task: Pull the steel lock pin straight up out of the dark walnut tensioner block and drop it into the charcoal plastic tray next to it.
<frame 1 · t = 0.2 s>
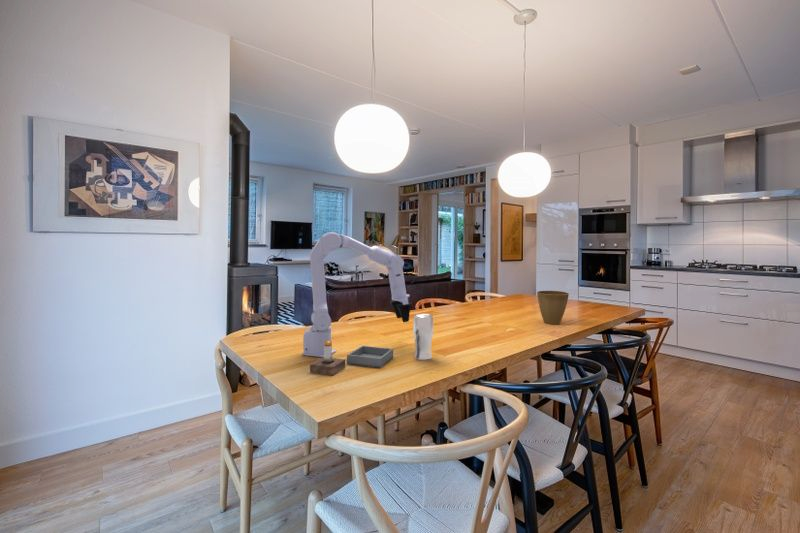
hand: (402, 319, 140), 11 cm above the table, tool pointing down, fingers open, 7 cm apart
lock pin: (327, 355, 113), in the tensioner block
tensioner block: (328, 369, 114), on the table
tray: (370, 360, 123), on the table
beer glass: (423, 358, 126), on the table
plant pot: (551, 323, 185), on the table
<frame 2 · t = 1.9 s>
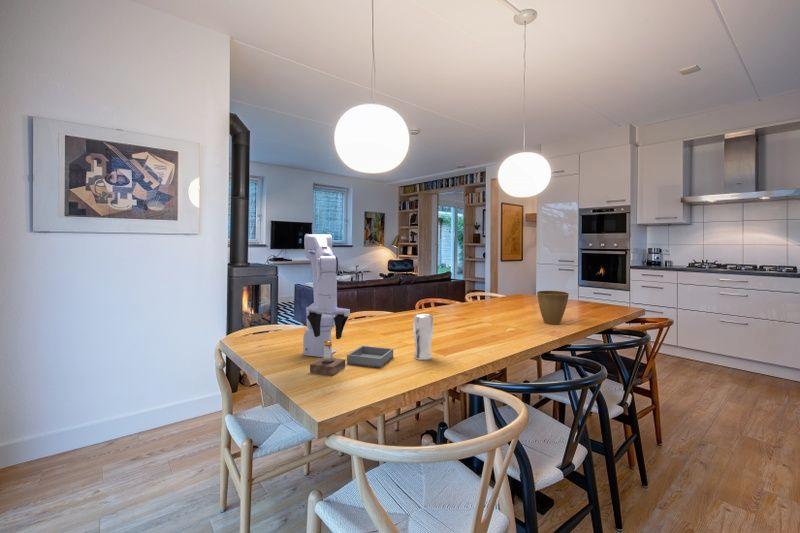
hand: (327, 337, 113), 10 cm above the table, tool pointing down, fingers open, 7 cm apart
nothing on the table moved.
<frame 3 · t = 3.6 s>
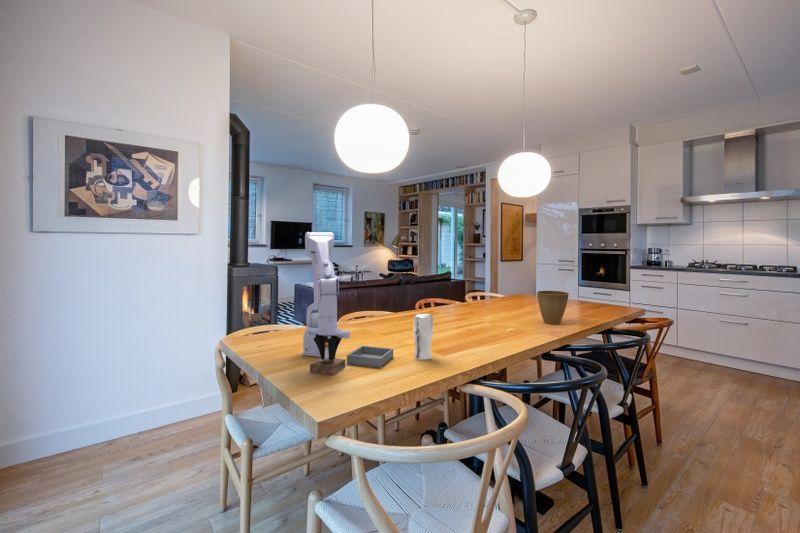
hand: (327, 359, 114), 3 cm above the table, tool pointing down, fingers closed on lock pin, 2 cm apart
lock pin: (327, 355, 113), in the tensioner block, touching gripper
everything else where it was.
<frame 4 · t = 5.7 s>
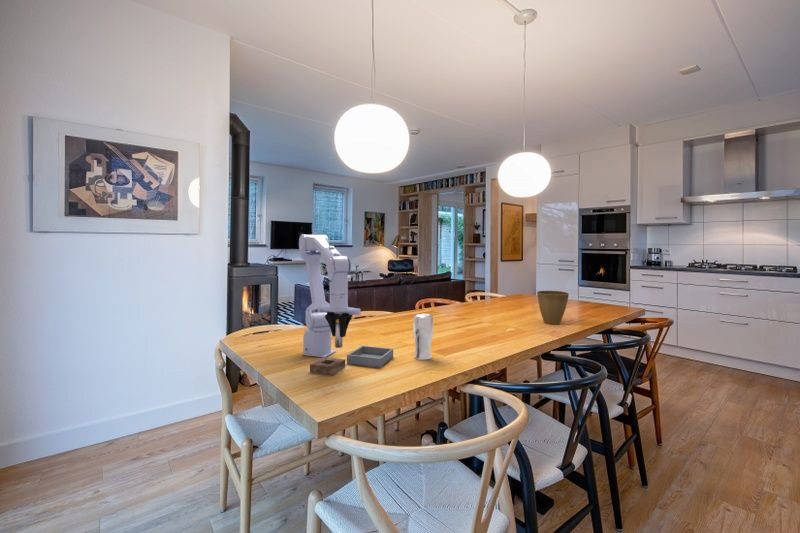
hand: (338, 336, 115), 10 cm above the table, tool pointing down, fingers closed on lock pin, 2 cm apart
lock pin: (338, 332, 115), point 11 cm above the table, touching gripper
everything else where it was.
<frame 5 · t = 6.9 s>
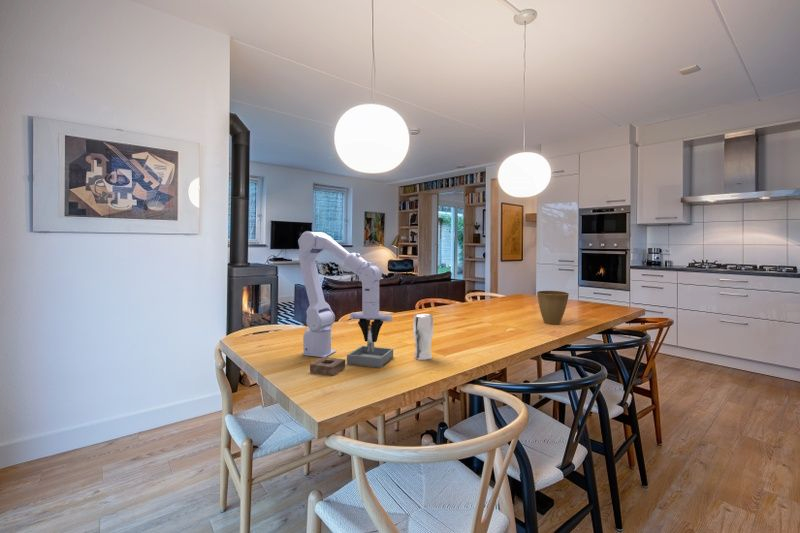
hand: (370, 341, 123), 7 cm above the table, tool pointing down, fingers closed on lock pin, 2 cm apart
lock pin: (370, 338, 122), point 8 cm above the table, touching gripper
everything else where it was.
when the fingers open (6 cm above the table, at t = 7.7 s): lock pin drops 2 cm, resting on tray.
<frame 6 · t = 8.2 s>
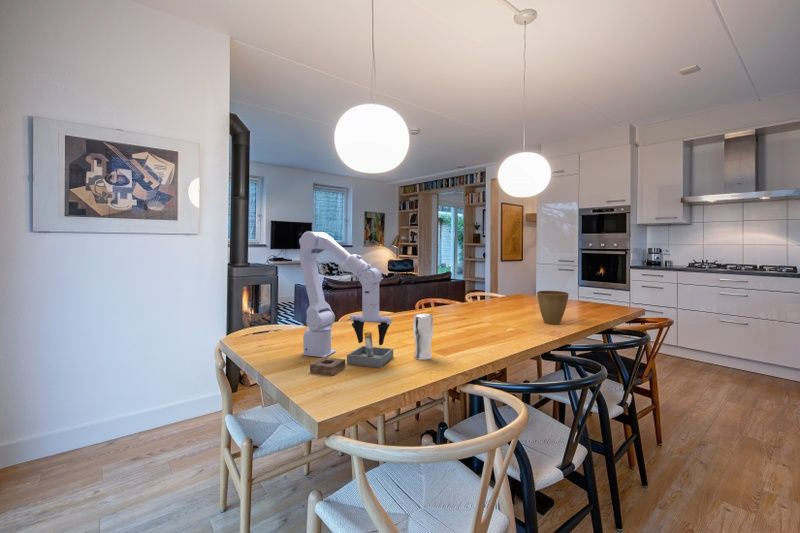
hand: (370, 343, 123), 6 cm above the table, tool pointing down, fingers open, 7 cm apart
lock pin: (369, 346, 122), in the tray, tilted 7°
everything else where it was.
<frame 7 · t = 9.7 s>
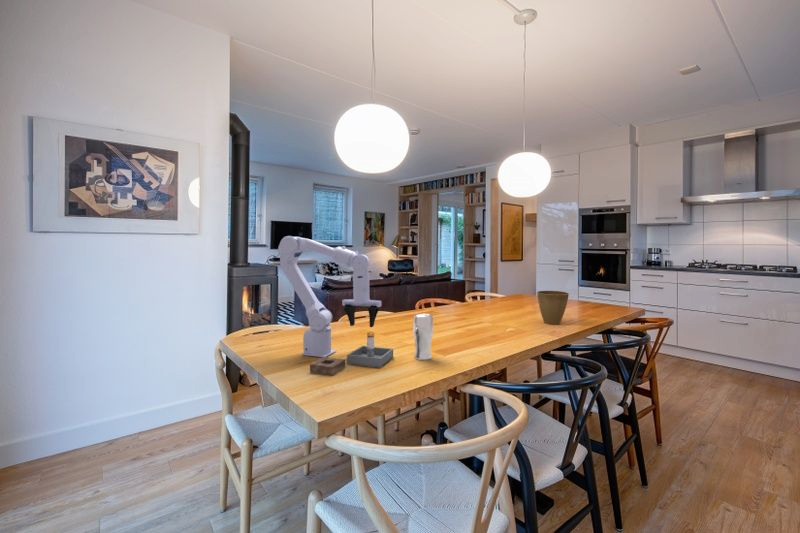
hand: (362, 326, 129), 10 cm above the table, tool pointing down, fingers open, 7 cm apart
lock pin: (370, 346, 123), in the tray
everything else where it was.
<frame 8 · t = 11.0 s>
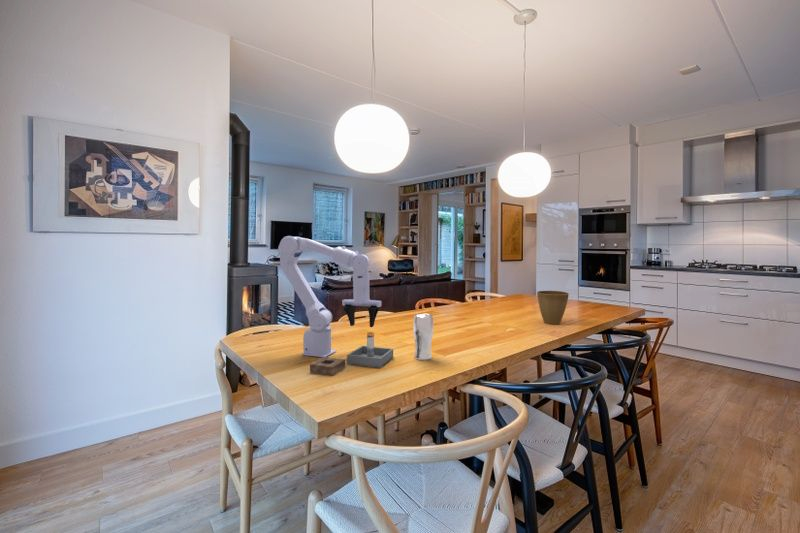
hand: (362, 326, 129), 10 cm above the table, tool pointing down, fingers open, 7 cm apart
nothing on the table moved.
at the end: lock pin inside the target area on the tray (0.2 cm from its centre), point 5.0 cm above the tray's base; the gripper is holding nothing; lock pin moved 15.6 cm from its start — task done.
